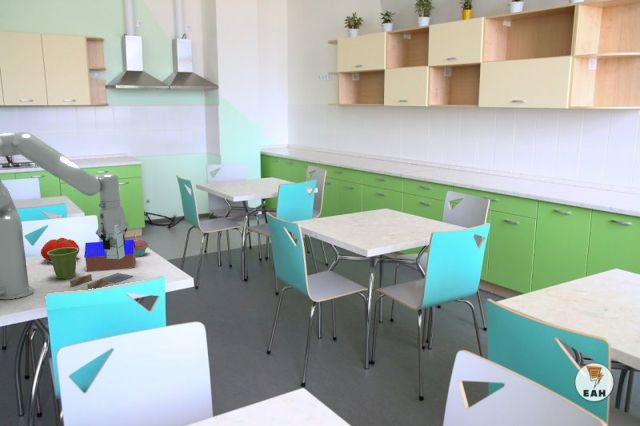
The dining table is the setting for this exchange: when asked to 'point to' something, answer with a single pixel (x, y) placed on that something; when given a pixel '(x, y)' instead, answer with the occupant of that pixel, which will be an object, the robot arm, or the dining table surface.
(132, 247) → the house
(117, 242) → the syrup box
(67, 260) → the plant pot
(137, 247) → the cupcake
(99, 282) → the rails
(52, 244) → the tomato
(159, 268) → the dining table surface
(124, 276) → the pad
